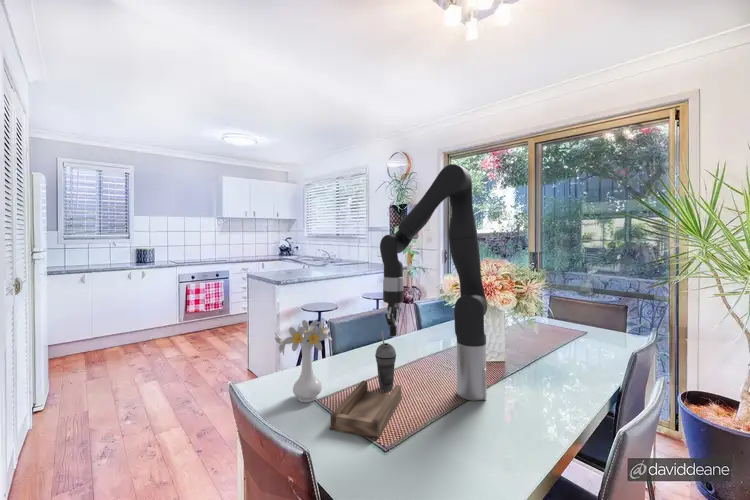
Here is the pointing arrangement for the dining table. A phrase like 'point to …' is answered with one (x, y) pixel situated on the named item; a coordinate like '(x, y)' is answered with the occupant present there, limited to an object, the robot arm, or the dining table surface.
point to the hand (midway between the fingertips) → (393, 335)
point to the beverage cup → (385, 365)
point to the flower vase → (306, 357)
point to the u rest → (365, 411)
